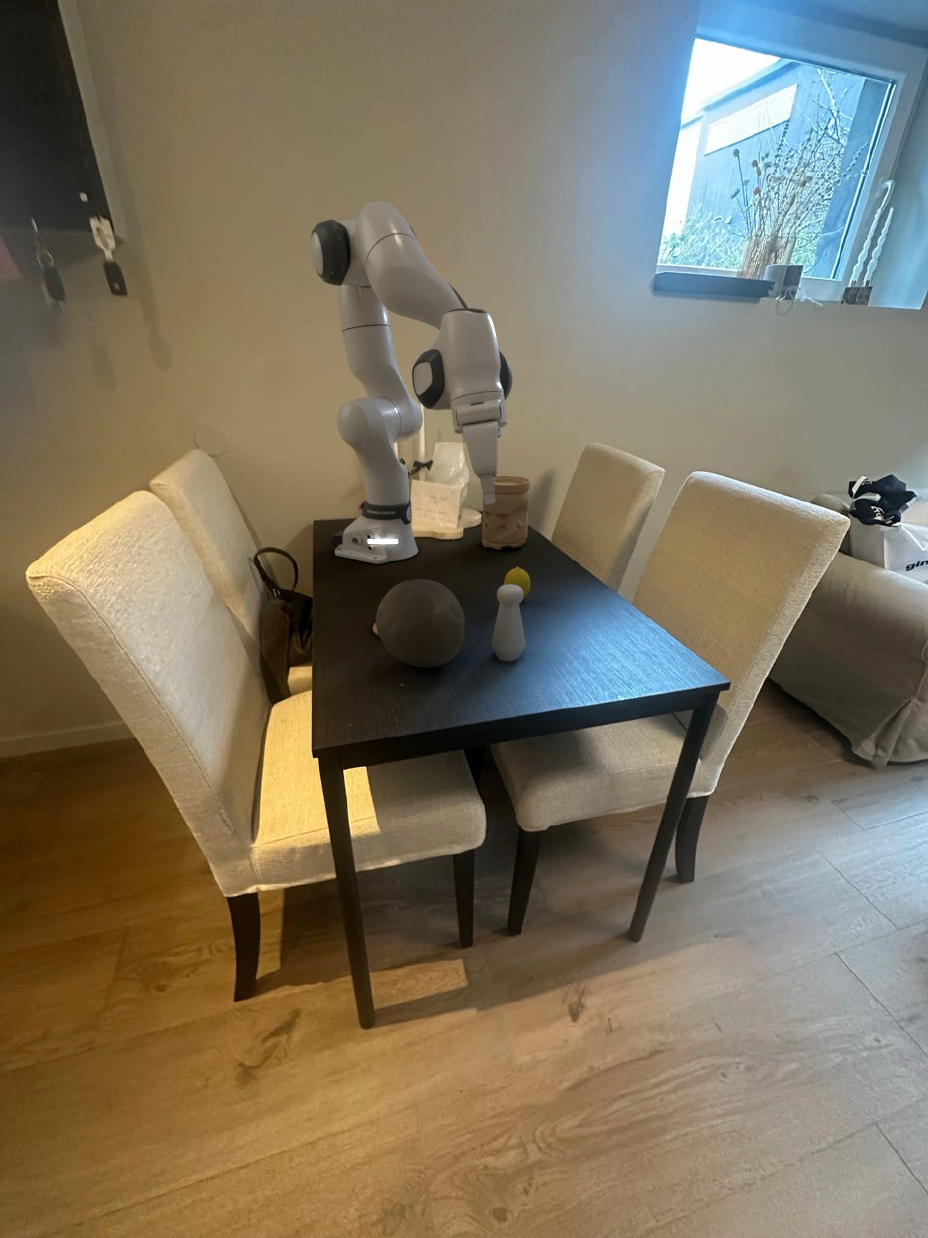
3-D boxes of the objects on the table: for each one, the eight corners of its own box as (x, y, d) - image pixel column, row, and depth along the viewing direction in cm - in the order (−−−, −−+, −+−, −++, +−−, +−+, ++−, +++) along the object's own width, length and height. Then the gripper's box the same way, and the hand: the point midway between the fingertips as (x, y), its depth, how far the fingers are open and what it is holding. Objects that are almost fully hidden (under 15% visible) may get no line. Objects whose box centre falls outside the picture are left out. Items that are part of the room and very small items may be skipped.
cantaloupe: (422, 636, 93) (418, 561, 87) (482, 661, 85) (483, 580, 79) (364, 667, 84) (355, 586, 77) (425, 699, 76) (421, 611, 69)
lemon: (512, 610, 103) (513, 574, 100) (498, 600, 108) (499, 565, 104) (534, 604, 106) (536, 569, 102) (520, 595, 110) (521, 561, 106)
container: (478, 550, 137) (478, 483, 129) (486, 536, 148) (487, 474, 140) (523, 553, 134) (527, 486, 126) (529, 539, 145) (532, 476, 137)
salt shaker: (524, 647, 89) (528, 581, 83) (524, 665, 84) (529, 595, 78) (492, 646, 90) (493, 579, 84) (490, 663, 85) (491, 593, 79)
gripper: (464, 429, 92) (474, 505, 95) (455, 410, 72) (469, 507, 75) (498, 424, 91) (507, 500, 94) (499, 403, 71) (510, 501, 74)
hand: (490, 503), depth 84 cm, fingers open, 8 cm apart
